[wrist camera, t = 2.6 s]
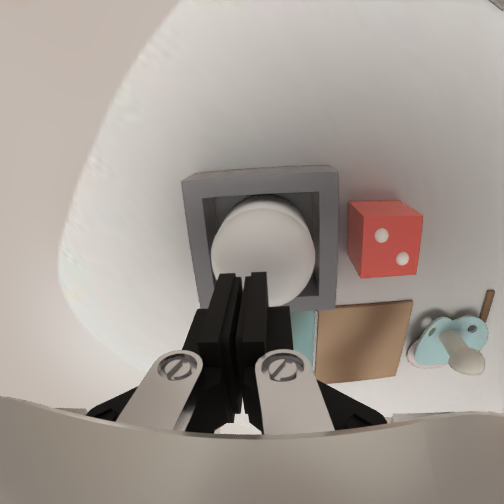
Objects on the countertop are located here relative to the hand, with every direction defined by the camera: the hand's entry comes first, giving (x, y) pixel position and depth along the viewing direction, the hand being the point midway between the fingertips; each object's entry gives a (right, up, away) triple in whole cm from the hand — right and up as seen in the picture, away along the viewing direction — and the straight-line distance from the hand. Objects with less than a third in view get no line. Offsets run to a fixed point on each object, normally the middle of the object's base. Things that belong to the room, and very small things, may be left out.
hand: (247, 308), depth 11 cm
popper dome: (+1, +3, +7) cm, 8 cm away
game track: (+9, -5, +11) cm, 15 cm away
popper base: (+3, +3, +8) cm, 9 cm away
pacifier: (+16, -5, +11) cm, 20 cm away
